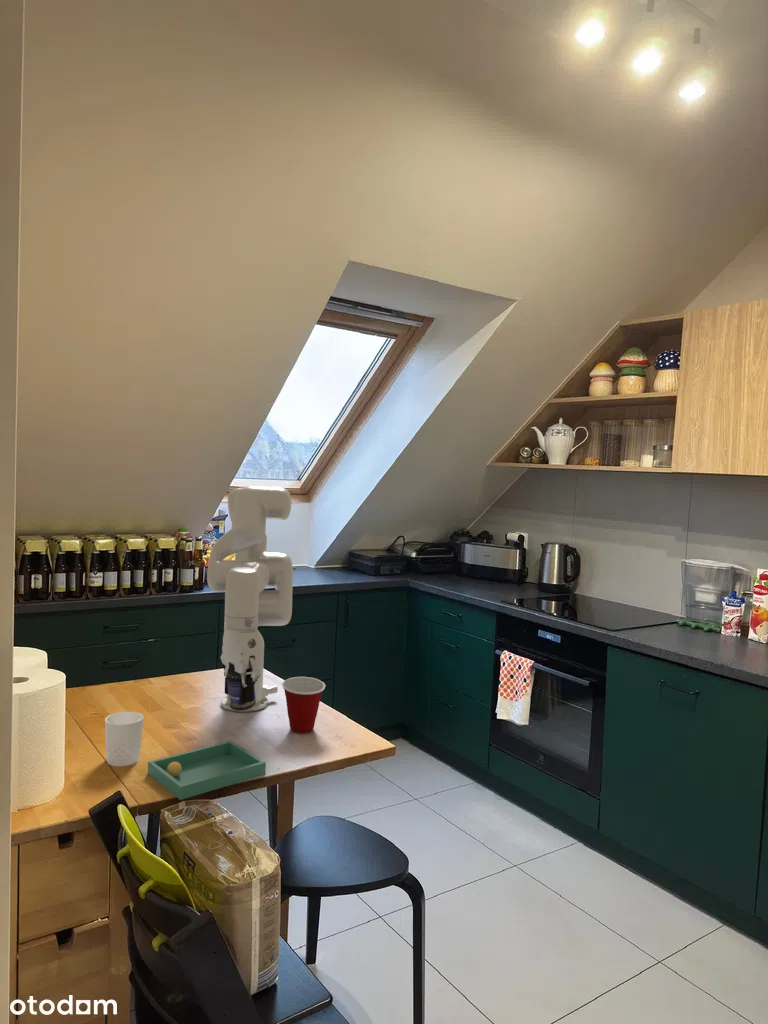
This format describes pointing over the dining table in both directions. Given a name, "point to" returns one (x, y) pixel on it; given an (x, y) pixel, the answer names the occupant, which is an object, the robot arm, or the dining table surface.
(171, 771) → the ball
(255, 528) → the robot arm
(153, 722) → the dining table surface
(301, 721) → the plastic cup
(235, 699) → the pill bottle
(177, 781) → the tray
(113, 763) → the white cup
